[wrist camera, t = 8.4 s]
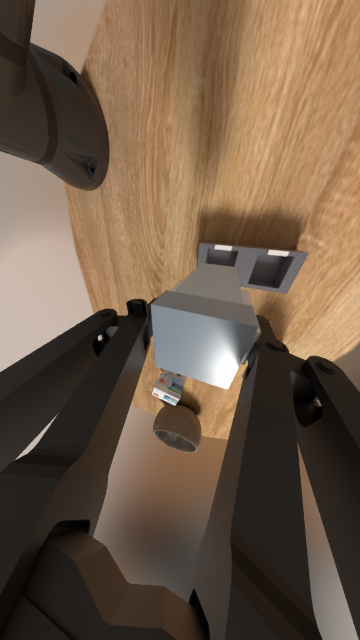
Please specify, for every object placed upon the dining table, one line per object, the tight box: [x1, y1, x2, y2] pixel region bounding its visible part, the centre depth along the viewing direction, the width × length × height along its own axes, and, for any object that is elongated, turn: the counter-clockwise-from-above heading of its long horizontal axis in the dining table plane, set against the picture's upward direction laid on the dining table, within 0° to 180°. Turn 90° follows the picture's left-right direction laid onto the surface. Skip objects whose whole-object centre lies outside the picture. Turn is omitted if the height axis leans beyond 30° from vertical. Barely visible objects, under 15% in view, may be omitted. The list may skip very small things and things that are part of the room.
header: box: [197, 241, 309, 294], centre depth 27 cm, size 7×18×6 cm, turn 86°
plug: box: [151, 263, 259, 389], centre depth 13 cm, size 5×5×13 cm
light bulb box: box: [152, 369, 186, 406], centre depth 56 cm, size 11×7×11 cm, turn 73°
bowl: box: [153, 404, 201, 453], centre depth 70 cm, size 24×24×15 cm
